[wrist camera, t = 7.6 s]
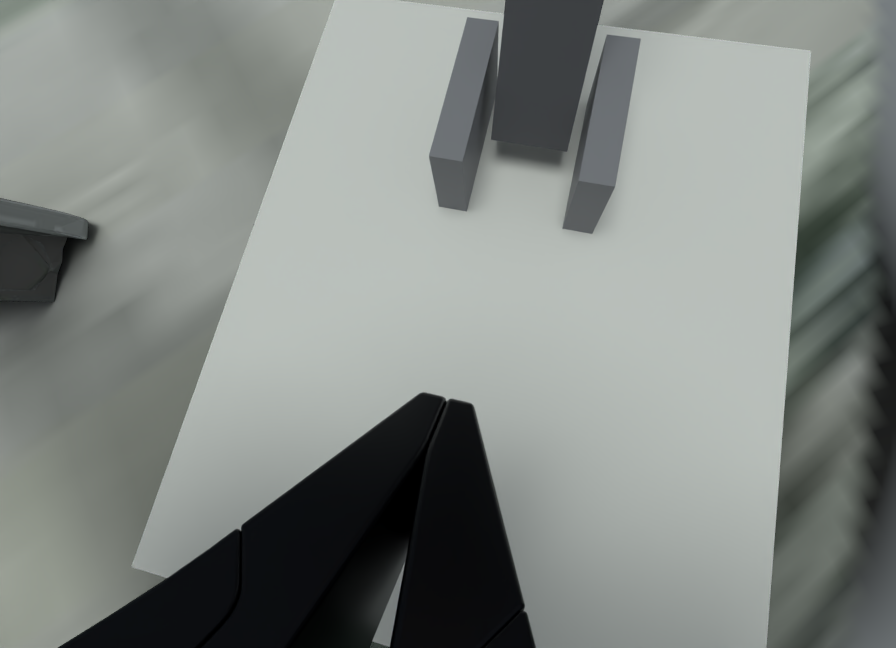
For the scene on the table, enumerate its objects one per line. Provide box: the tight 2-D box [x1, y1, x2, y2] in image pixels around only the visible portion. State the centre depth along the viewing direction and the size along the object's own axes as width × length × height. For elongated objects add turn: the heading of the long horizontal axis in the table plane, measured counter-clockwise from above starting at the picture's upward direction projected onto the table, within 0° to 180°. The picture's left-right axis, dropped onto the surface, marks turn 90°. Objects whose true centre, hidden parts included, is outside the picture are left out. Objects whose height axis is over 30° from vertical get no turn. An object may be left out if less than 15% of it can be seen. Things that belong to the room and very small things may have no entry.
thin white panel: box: [131, 0, 811, 648], centre depth 16 cm, size 22×18×6 cm
